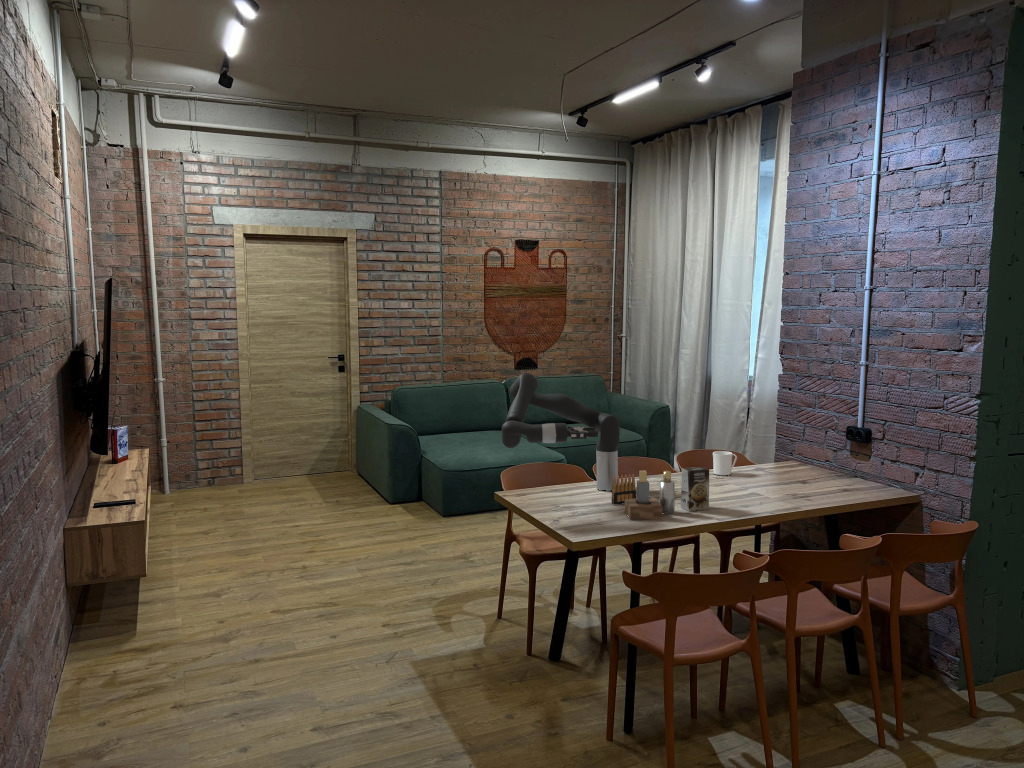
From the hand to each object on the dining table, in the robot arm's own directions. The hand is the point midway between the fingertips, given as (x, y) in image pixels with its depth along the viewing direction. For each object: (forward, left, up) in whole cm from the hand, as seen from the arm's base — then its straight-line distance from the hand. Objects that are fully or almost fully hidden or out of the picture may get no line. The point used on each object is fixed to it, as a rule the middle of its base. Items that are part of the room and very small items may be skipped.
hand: (596, 432), depth 276 cm
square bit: (+4, +17, -31) cm, 36 cm away
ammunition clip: (-14, +13, -32) cm, 38 cm away
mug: (-59, +69, -32) cm, 96 cm away
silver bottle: (+1, +27, -32) cm, 42 cm away
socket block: (+4, +17, -32) cm, 37 cm away
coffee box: (-3, +39, -32) cm, 51 cm away
